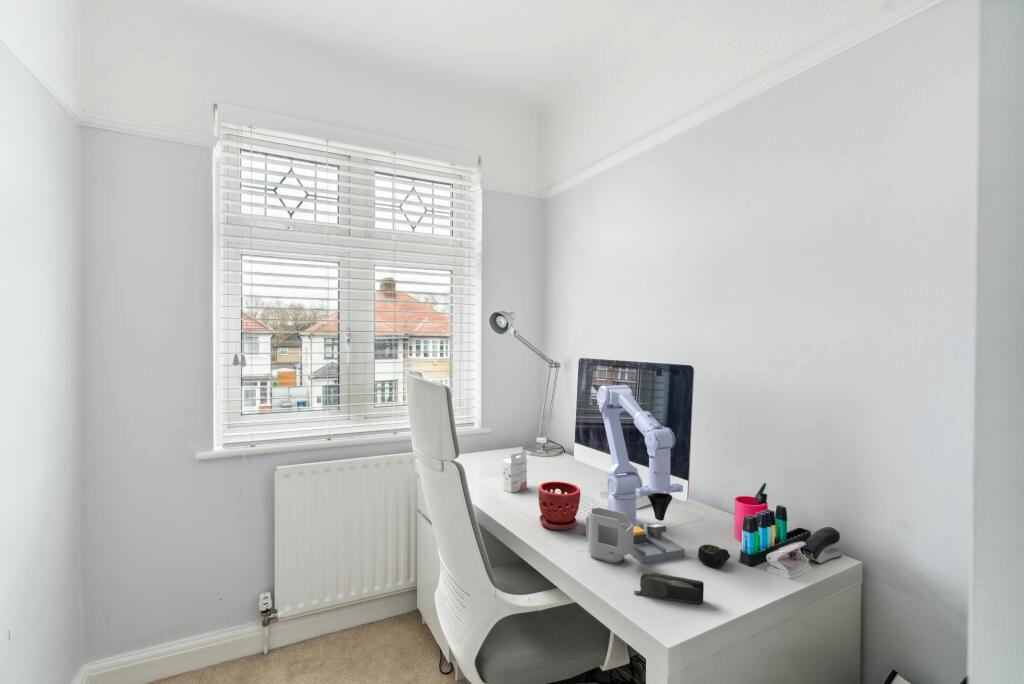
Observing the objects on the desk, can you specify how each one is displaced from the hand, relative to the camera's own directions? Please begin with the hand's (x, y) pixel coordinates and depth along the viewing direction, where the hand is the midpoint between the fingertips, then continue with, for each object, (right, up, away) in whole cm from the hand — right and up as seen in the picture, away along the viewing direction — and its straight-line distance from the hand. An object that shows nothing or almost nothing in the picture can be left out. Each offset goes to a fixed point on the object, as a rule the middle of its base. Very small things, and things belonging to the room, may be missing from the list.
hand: (659, 519), depth 132 cm
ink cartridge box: (-41, -7, +50) cm, 65 cm away
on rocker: (-1, -4, +3) cm, 5 cm away
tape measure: (+12, -8, -10) cm, 17 cm away
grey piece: (-15, -8, -8) cm, 19 cm away
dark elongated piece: (-6, -8, -26) cm, 28 cm away
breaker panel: (-4, -8, 0) cm, 9 cm away
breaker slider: (-7, -6, -1) cm, 9 cm away
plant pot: (-27, -8, +15) cm, 32 cm away
